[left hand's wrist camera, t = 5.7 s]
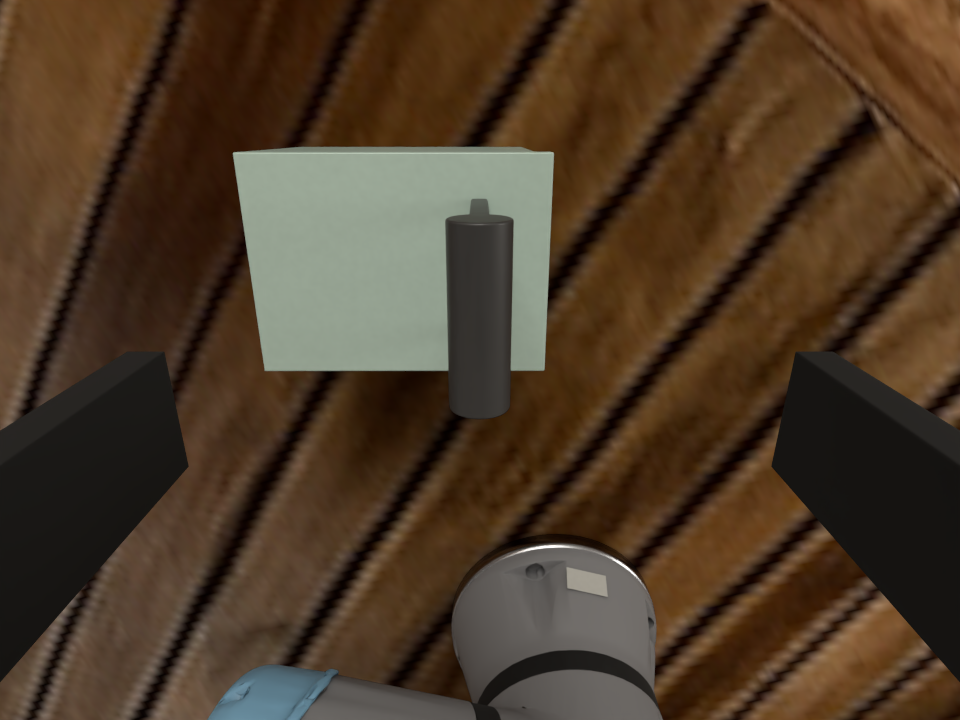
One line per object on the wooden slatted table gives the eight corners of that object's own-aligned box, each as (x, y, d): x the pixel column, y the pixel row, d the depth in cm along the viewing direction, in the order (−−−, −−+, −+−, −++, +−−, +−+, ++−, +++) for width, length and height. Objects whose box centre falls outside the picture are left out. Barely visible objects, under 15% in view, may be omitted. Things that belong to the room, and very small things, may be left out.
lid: (551, 151, 24) (589, 161, 16) (542, 363, 28) (570, 464, 19) (241, 151, 24) (114, 161, 16) (271, 363, 28) (180, 464, 19)
